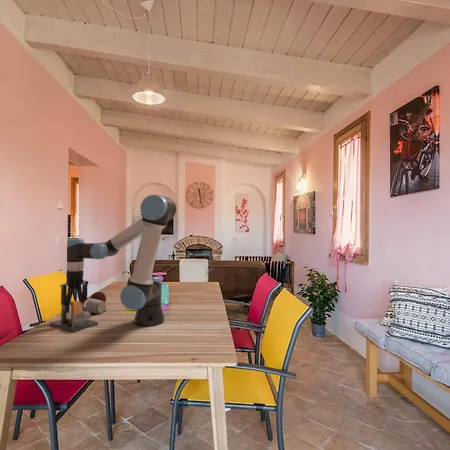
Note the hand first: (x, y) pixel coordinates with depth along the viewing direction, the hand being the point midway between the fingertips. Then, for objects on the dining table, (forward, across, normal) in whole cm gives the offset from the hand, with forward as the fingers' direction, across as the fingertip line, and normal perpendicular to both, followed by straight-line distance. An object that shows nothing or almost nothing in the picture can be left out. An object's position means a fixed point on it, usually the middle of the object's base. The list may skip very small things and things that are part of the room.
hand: (74, 317), depth 149 cm
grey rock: (+3, 0, +8) cm, 8 cm away
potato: (+4, -27, -18) cm, 33 cm away
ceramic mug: (+4, -20, -9) cm, 23 cm away
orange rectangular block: (+2, 0, 0) cm, 2 cm away
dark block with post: (+4, 0, 0) cm, 4 cm away
